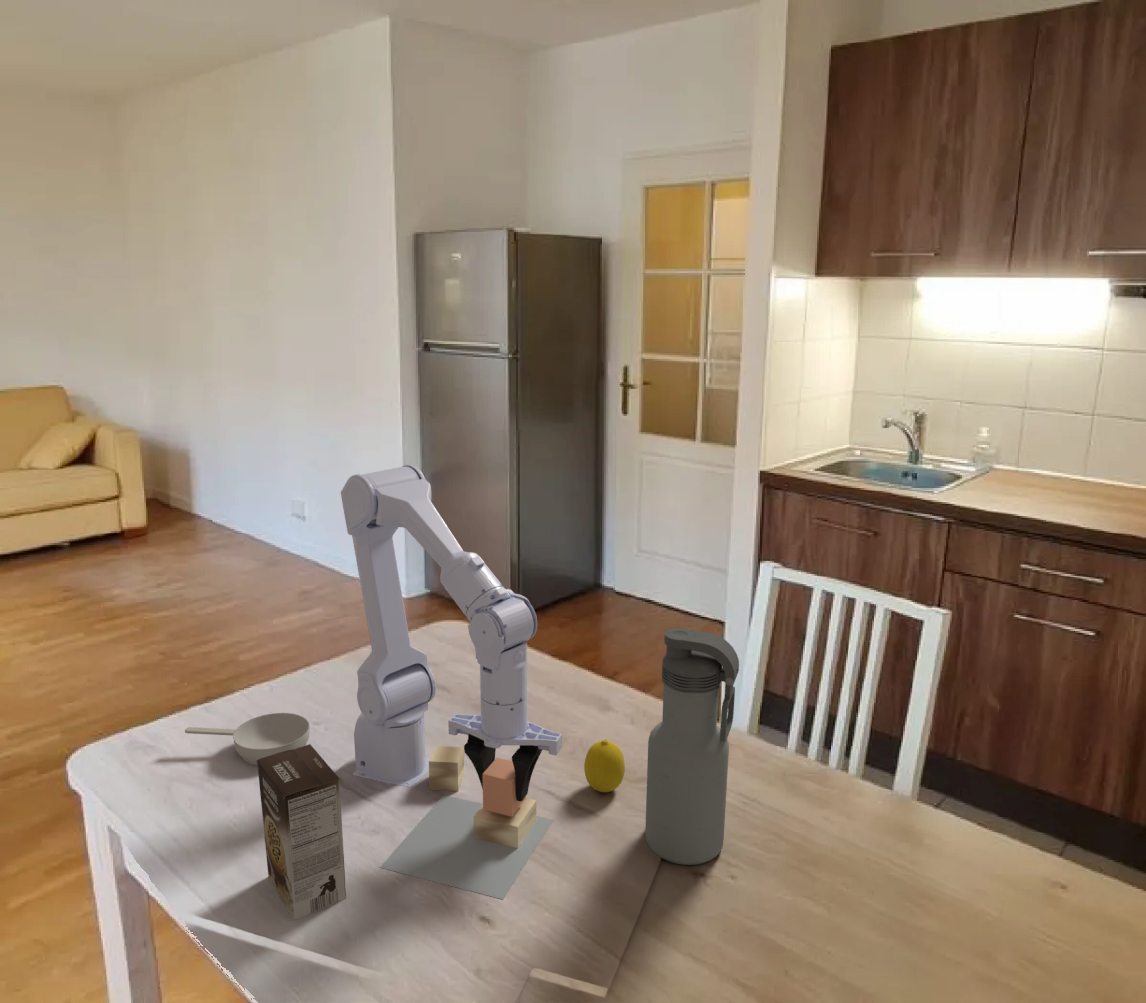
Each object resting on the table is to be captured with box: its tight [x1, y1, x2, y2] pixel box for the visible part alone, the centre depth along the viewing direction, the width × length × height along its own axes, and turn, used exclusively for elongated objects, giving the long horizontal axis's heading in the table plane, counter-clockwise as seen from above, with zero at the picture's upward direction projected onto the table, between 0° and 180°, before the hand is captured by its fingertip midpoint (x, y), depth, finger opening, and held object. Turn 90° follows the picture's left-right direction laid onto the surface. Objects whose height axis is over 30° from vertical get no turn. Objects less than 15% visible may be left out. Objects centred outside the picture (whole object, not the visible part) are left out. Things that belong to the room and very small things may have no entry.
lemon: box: [583, 739, 626, 793], centre depth 120 cm, size 6×6×8 cm
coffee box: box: [256, 743, 347, 921], centre depth 99 cm, size 9×6×16 cm
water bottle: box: [644, 627, 740, 866], centre depth 107 cm, size 10×10×28 cm
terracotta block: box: [482, 757, 527, 817], centre depth 110 cm, size 4×4×5 cm
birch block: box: [428, 745, 465, 792], centre depth 122 cm, size 4×4×5 cm
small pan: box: [184, 712, 310, 767], centre depth 130 cm, size 11×18×4 cm, turn 92°
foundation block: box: [474, 797, 537, 848], centre depth 111 cm, size 6×6×3 cm
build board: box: [379, 794, 554, 900], centre depth 109 cm, size 16×16×1 cm
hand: (505, 793), depth 111 cm, fingers closed on terracotta block, 4 cm apart
